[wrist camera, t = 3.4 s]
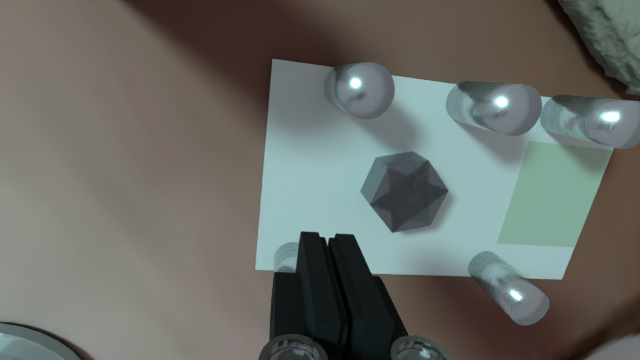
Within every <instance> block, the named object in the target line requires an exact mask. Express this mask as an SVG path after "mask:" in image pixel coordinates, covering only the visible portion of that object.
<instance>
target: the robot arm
mask: <svg viewBox="0 0 640 360" xmlns="http://www.w3.org/2000/svg"><path fill="white" fill-rule="evenodd" d="M0 360H81V359H80V358H79V357H78V356H77V355H76V354H75V353H74V352H73V351H72V350H71V349H69V348H68V347H66V346H65V345H63V344H62V343H60V342H59V341H57V340H55V339H53V338H51V337H49V336H47V335H45V334H43V333H41V332H37V331H34V330H31V329H28V328H25V327H21V326H15V325H9V324H3V323H0ZM259 360H453V358H452V357H451V356H450V355H449V354H448V353H447V352H446V351H445V350H444V349H443V348H442V347H441V346H439V345H438V344H436V343H435V342H433V341H431V340H429V339H426V338H423V337H419V336H409V335H408V333H407V331H406V329H405V327H404V325H403V323H402V321H401V319H400V316H399V314H398V312H397V310H396V308H395V306H394V304H393V302H392V300H391V298H390V296H389V294H388V292H387V290H386V288H385V285H384V283H383V281H382V280H381V278H380V277H379V276H372V274H371V272H370V269H369V267H368V265H367V263H366V260H365V258H364V256H363V254H362V251H361V249H360V247H359V245H358V243H357V240H356V238H355V236H354V234H339V233H336V234H335V237H334V238H331V237H330V238H329V240H328V246H327V242H326V239H325V237H320V235H319V232H307V231H301V233H300V239H299V247H298V255H297V263H296V271H295V273H291V272H274V279H273V289H272V299H271V313H270V340H269V342H268V343H267V344H266V345H265V346H264V347H263V349H262V351H261V354H260V356H259Z"/></svg>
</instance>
